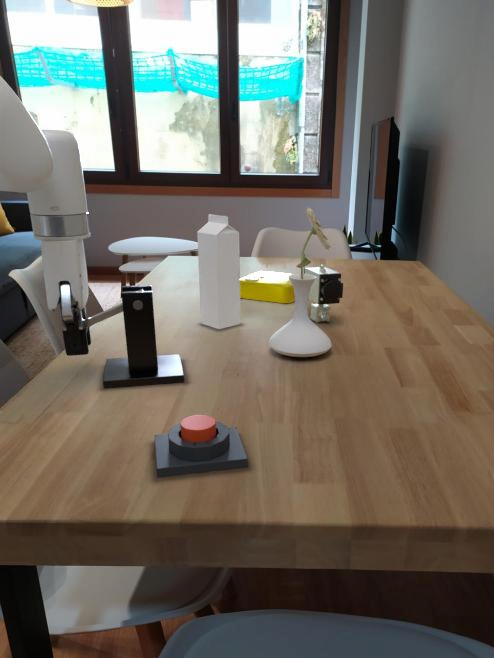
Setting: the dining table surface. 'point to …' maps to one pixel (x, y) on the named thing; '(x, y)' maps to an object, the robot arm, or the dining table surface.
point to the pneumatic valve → (324, 291)
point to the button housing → (199, 452)
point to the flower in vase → (302, 311)
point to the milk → (219, 273)
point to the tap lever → (103, 315)
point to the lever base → (141, 346)
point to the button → (198, 428)
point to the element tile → (267, 287)
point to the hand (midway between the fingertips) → (79, 348)
